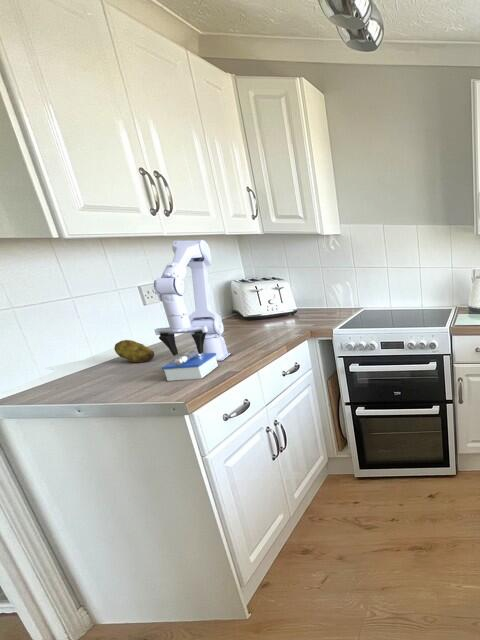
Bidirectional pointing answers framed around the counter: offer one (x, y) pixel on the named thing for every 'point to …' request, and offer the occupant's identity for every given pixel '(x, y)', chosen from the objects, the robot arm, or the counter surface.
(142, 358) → the potato
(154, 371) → the counter surface
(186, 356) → the spoon
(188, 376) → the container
